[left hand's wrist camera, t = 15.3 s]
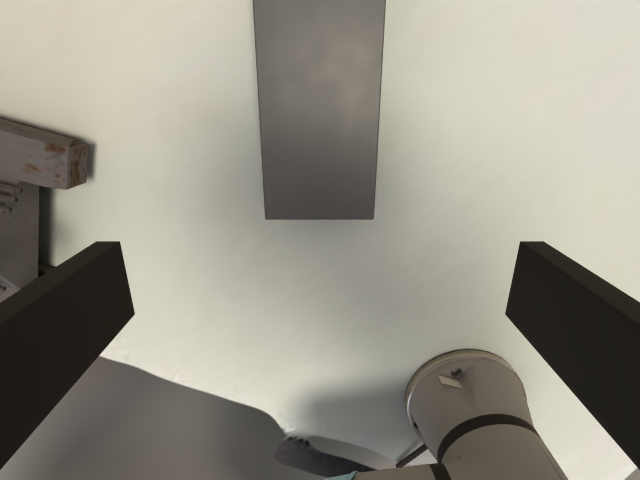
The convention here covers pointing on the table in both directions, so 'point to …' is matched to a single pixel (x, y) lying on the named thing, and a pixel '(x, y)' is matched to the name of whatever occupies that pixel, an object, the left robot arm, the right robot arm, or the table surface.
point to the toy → (30, 195)
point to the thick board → (319, 105)
